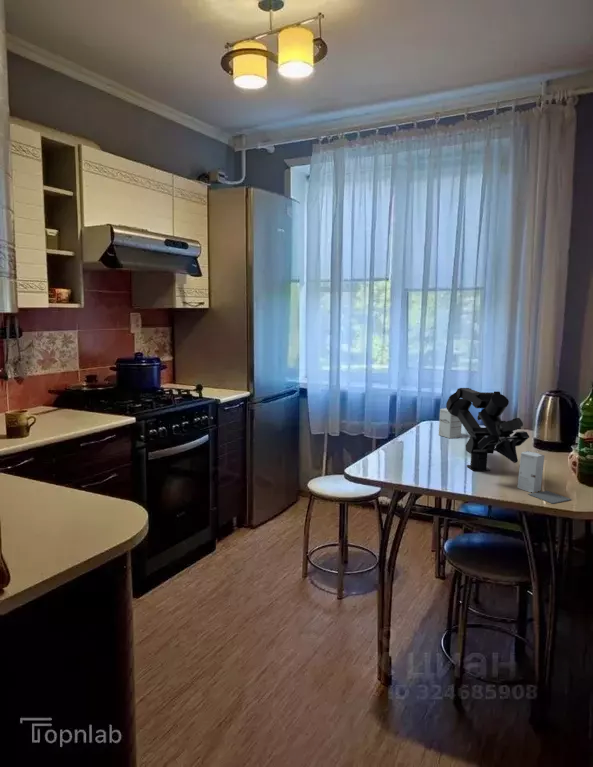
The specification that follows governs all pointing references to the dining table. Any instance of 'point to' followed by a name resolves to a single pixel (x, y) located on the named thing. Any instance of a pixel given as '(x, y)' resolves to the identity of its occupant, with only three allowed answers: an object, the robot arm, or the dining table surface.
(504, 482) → the dining table surface
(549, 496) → the pad
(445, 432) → the supplement box
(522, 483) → the skincare box
